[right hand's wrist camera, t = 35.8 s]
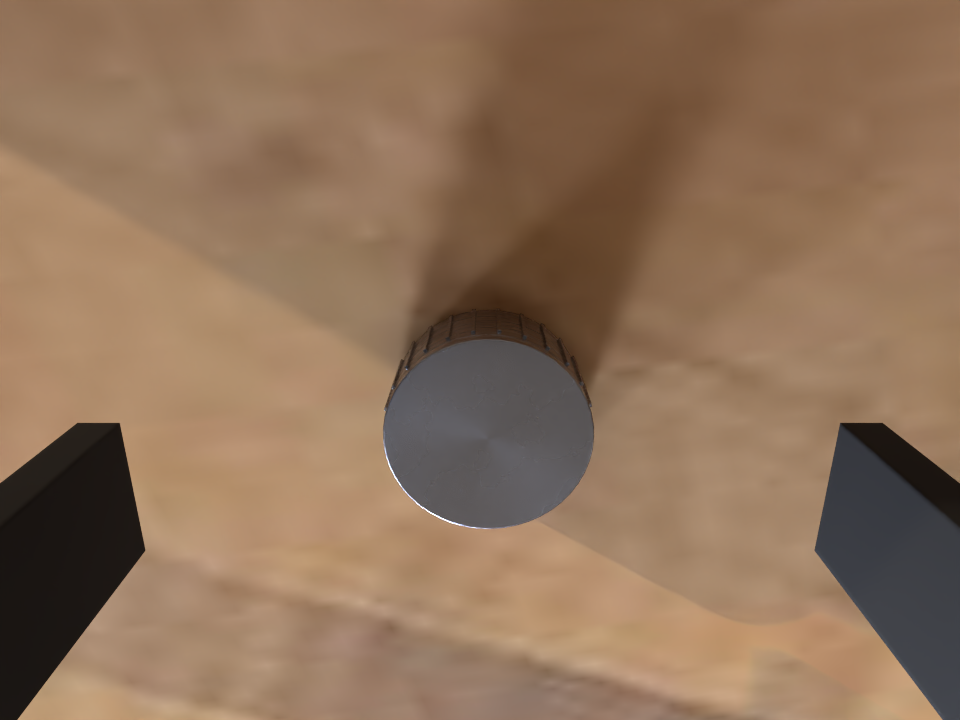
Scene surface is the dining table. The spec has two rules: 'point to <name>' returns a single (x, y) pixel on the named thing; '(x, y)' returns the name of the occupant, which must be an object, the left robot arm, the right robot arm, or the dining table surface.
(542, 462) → the cap
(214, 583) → the dining table surface
